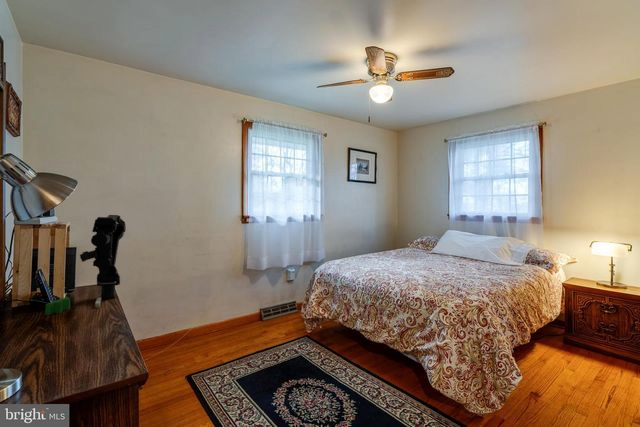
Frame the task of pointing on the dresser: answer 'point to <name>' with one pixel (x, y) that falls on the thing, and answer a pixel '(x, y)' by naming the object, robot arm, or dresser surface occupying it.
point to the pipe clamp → (58, 306)
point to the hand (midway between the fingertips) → (102, 278)
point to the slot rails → (96, 302)
